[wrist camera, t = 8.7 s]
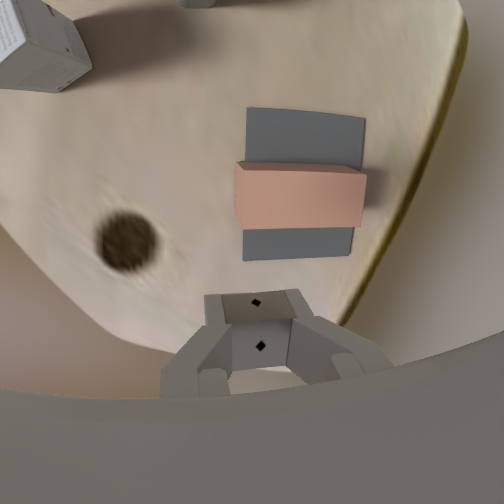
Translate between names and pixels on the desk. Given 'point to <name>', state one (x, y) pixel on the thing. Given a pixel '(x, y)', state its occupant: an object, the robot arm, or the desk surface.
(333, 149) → the mat
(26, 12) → the skincare box
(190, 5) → the power adapter
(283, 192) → the block
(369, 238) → the desk surface
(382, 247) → the desk surface
